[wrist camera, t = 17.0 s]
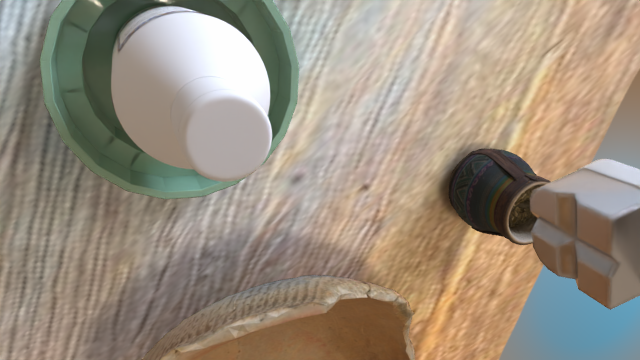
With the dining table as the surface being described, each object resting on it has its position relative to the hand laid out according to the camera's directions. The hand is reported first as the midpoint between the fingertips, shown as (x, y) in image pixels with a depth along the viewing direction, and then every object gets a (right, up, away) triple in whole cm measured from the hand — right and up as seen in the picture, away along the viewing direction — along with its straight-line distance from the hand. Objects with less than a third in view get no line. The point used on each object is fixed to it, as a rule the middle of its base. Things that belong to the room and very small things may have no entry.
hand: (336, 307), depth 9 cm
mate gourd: (+14, +2, +38) cm, 40 cm away
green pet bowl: (-10, +10, +26) cm, 29 cm away
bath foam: (-10, +10, +25) cm, 29 cm away
